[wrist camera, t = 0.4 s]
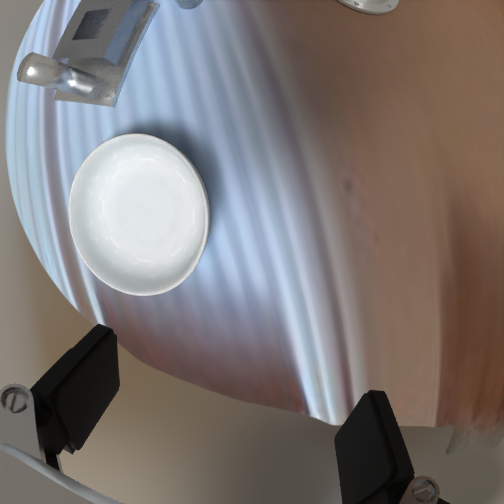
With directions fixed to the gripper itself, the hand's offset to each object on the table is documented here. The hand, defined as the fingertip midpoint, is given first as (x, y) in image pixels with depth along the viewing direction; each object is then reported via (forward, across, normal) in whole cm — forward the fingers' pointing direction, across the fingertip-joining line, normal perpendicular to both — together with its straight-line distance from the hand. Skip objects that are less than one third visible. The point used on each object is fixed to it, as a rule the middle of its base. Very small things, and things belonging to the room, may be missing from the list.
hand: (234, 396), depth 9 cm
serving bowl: (+30, +17, +1) cm, 35 cm away
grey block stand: (+30, +32, -23) cm, 50 cm away
